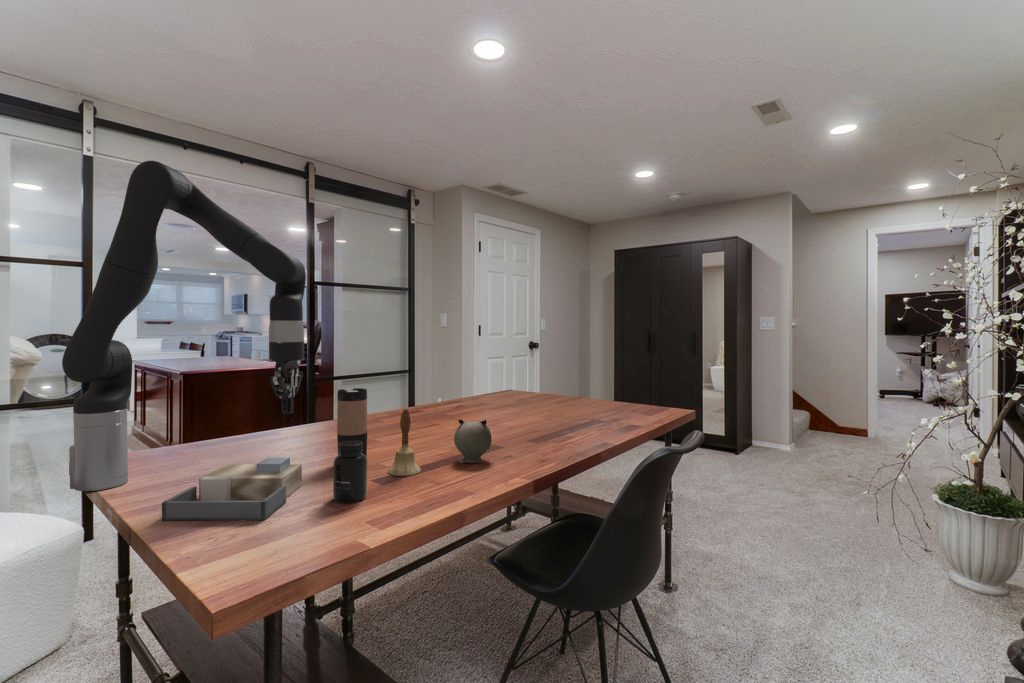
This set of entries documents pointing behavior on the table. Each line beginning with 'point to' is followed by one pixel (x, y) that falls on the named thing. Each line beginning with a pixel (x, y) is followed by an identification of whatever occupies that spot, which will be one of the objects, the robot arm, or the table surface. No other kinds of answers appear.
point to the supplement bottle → (350, 473)
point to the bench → (258, 481)
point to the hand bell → (404, 452)
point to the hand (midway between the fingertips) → (287, 413)
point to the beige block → (215, 488)
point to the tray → (220, 507)
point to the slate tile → (273, 465)
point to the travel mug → (352, 417)
